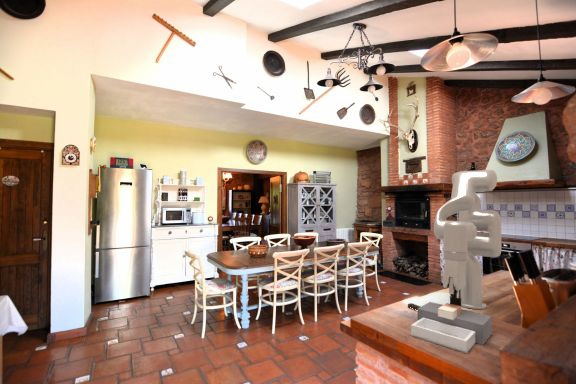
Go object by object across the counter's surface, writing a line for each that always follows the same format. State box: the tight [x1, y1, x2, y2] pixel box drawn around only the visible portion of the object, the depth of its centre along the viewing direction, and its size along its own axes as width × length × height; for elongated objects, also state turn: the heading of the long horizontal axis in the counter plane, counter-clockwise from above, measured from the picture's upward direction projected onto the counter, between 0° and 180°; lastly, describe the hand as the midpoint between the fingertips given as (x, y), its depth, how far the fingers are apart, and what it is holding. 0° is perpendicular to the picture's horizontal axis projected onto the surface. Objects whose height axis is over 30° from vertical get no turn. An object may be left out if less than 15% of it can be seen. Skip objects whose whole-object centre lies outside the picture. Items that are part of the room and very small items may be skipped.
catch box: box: [410, 318, 477, 354], centre depth 95 cm, size 10×16×4 cm, turn 45°
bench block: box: [417, 301, 493, 346], centre depth 103 cm, size 12×20×6 cm, turn 45°
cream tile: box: [438, 306, 457, 320], centre depth 99 cm, size 4×4×2 cm
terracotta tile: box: [442, 302, 462, 317], centre depth 102 cm, size 4×4×2 cm
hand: (455, 308), depth 105 cm, fingers closed
